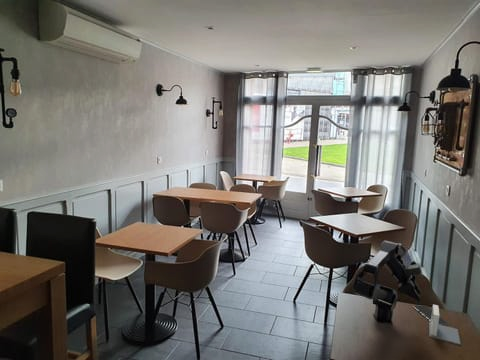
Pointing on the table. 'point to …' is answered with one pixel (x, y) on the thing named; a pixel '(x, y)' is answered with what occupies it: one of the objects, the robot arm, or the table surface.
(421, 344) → the table surface
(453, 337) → the mat
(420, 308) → the smartphone
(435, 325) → the tile
